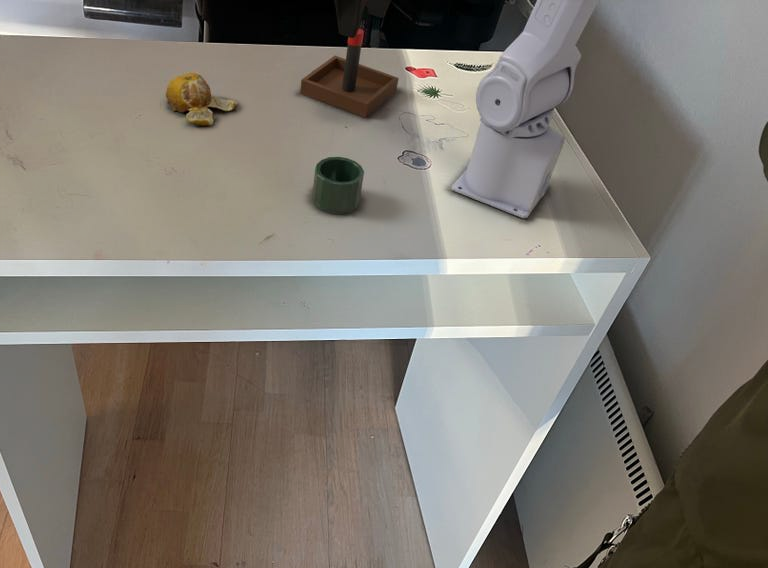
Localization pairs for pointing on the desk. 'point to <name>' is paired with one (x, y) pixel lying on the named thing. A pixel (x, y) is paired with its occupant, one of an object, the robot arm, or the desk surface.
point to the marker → (352, 62)
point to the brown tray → (361, 102)
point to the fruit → (195, 98)
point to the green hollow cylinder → (337, 185)
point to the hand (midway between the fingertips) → (362, 25)
